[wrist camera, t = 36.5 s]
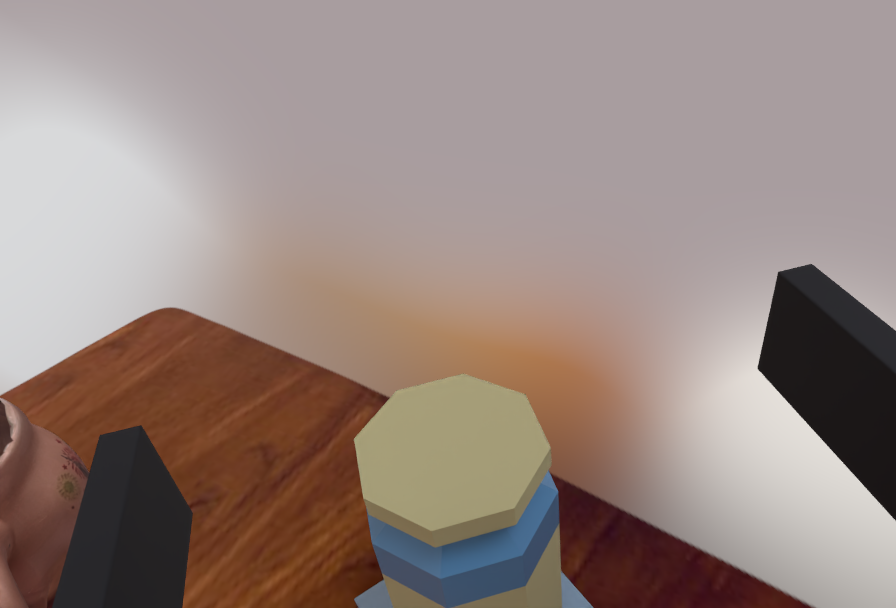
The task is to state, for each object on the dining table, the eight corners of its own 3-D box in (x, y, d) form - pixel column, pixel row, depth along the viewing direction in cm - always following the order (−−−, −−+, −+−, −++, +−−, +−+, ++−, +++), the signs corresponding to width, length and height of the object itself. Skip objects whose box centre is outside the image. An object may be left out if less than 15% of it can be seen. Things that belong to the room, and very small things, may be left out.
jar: (597, 629, 36) (603, 450, 27) (465, 747, 33) (420, 583, 24) (493, 519, 43) (469, 344, 34) (371, 607, 39) (309, 436, 30)
